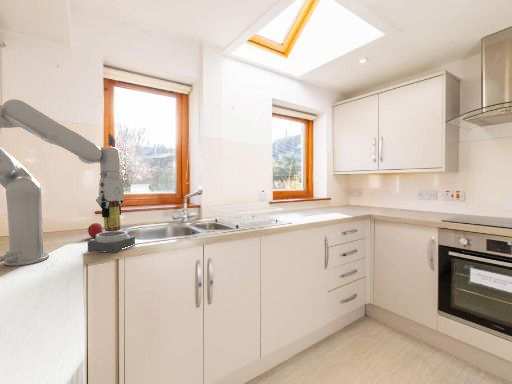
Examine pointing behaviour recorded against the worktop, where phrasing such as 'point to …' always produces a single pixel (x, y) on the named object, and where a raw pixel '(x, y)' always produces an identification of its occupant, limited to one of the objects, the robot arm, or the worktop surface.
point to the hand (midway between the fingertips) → (111, 215)
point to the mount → (111, 241)
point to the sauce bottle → (112, 217)
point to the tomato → (94, 229)
